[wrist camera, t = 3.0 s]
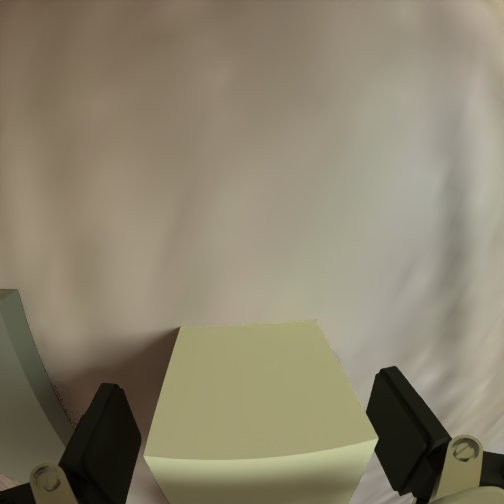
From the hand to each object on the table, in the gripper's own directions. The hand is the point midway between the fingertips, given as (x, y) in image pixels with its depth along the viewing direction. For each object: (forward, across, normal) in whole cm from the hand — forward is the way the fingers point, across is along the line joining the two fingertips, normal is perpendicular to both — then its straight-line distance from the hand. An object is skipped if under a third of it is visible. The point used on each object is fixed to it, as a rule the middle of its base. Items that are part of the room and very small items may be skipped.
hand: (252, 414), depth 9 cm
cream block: (+2, 0, 0) cm, 2 cm away
